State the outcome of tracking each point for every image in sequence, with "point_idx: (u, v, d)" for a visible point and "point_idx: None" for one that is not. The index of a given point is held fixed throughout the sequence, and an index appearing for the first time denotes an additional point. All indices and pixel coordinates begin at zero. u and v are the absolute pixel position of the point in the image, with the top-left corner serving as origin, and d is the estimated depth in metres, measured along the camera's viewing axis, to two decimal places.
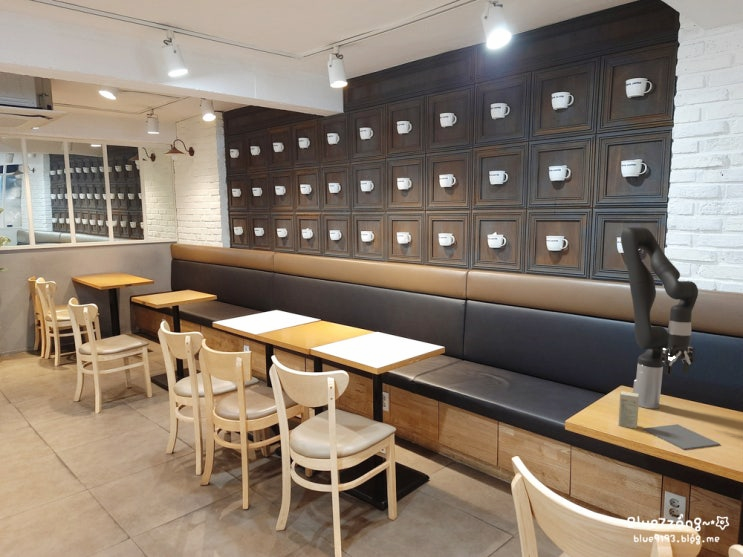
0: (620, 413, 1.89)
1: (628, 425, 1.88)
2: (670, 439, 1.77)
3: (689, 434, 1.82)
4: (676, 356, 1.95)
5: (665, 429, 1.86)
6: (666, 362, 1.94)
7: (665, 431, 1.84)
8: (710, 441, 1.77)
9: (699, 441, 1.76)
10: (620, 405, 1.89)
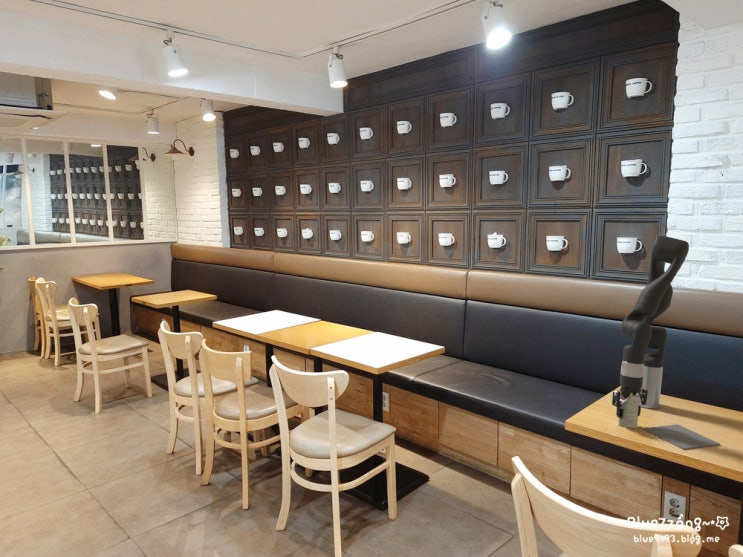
0: None
1: (628, 425, 1.88)
2: (670, 439, 1.77)
3: (689, 434, 1.82)
4: (628, 398, 1.86)
5: (665, 429, 1.86)
6: (617, 405, 1.86)
7: (665, 431, 1.84)
8: (710, 441, 1.77)
9: (699, 441, 1.76)
10: None
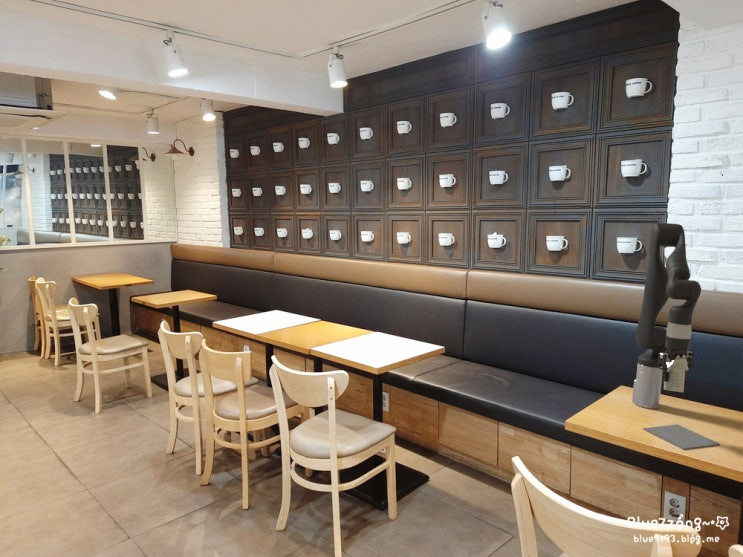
0: None
1: (675, 389, 1.82)
2: (670, 439, 1.77)
3: (689, 434, 1.82)
4: (674, 361, 1.80)
5: (665, 429, 1.86)
6: (664, 368, 1.80)
7: (665, 431, 1.84)
8: (710, 441, 1.77)
9: (699, 441, 1.76)
10: None
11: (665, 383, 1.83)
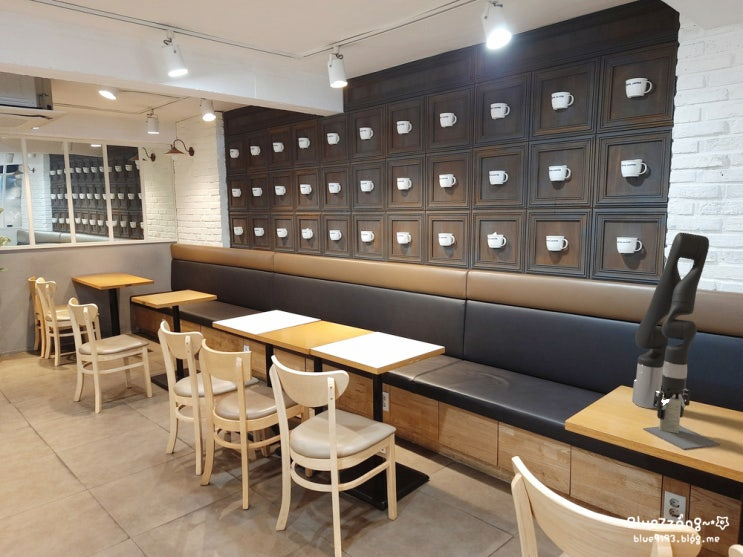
0: None
1: (670, 430, 1.83)
2: (670, 439, 1.77)
3: (689, 434, 1.82)
4: (670, 400, 1.82)
5: None
6: (659, 406, 1.81)
7: (665, 431, 1.84)
8: (710, 441, 1.77)
9: (699, 441, 1.76)
10: None
11: (660, 424, 1.85)
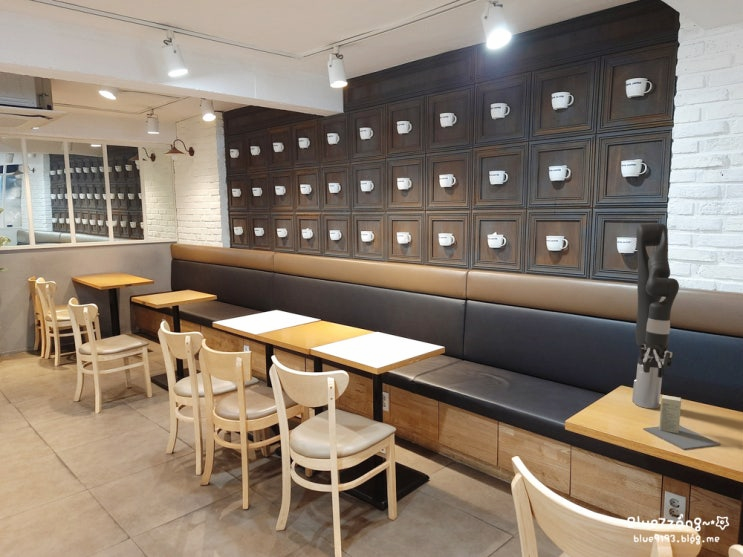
0: (661, 417, 1.84)
1: (670, 430, 1.83)
2: (670, 439, 1.77)
3: (689, 434, 1.82)
4: (647, 353, 1.93)
5: None
6: (640, 357, 1.96)
7: (665, 431, 1.84)
8: (710, 441, 1.77)
9: (699, 441, 1.76)
10: (661, 409, 1.84)
11: (660, 424, 1.85)
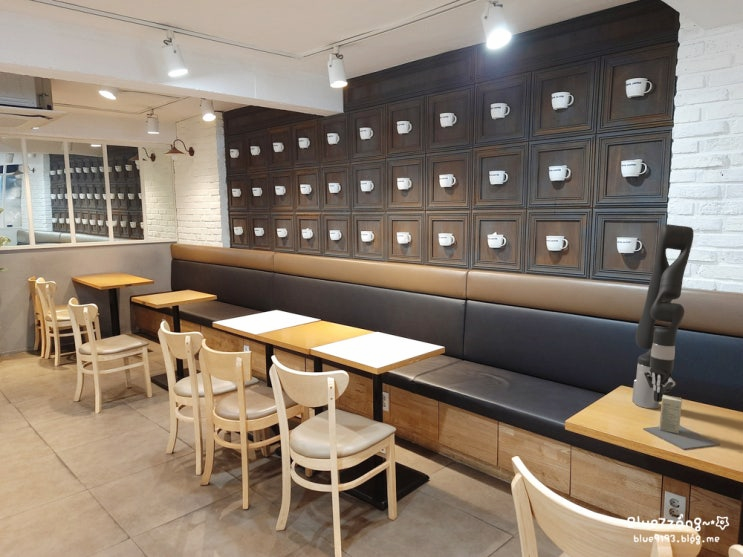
0: (662, 417, 1.84)
1: (670, 430, 1.83)
2: (670, 439, 1.77)
3: (689, 434, 1.82)
4: (653, 379, 1.90)
5: None
6: (650, 385, 1.92)
7: (665, 431, 1.84)
8: (710, 441, 1.77)
9: (699, 441, 1.76)
10: (662, 409, 1.84)
11: (660, 423, 1.85)
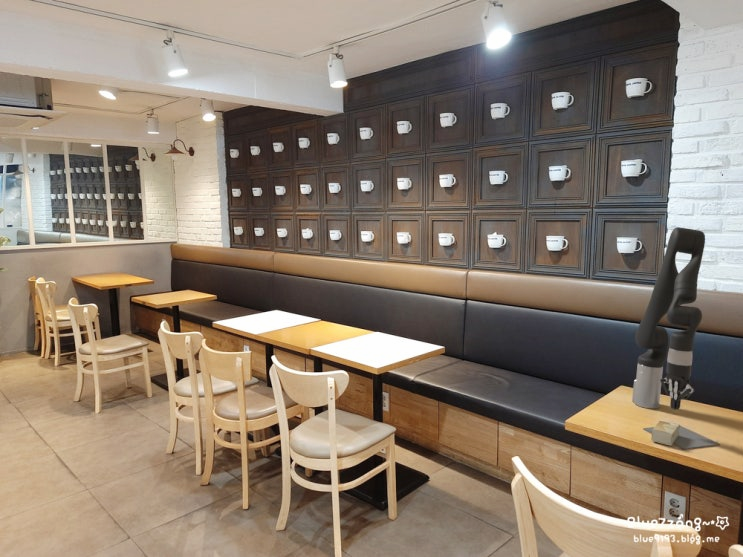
0: None
1: None
2: None
3: (689, 434, 1.82)
4: (670, 386, 1.83)
5: None
6: (667, 392, 1.85)
7: None
8: (710, 441, 1.77)
9: (699, 441, 1.76)
10: None
11: None
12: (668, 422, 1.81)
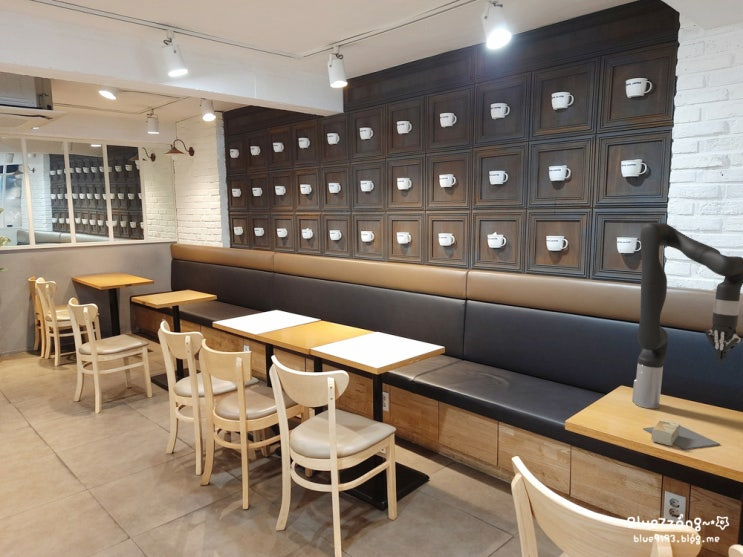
0: None
1: None
2: None
3: (689, 434, 1.82)
4: (716, 337, 1.83)
5: None
6: (712, 343, 1.85)
7: None
8: (710, 441, 1.77)
9: (699, 441, 1.76)
10: None
11: None
12: (668, 422, 1.81)
